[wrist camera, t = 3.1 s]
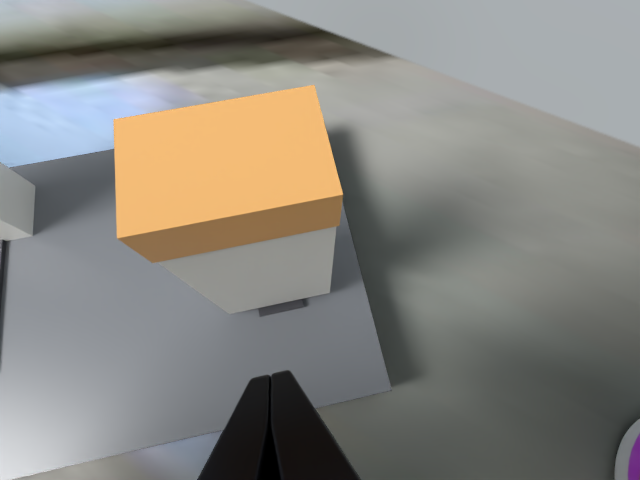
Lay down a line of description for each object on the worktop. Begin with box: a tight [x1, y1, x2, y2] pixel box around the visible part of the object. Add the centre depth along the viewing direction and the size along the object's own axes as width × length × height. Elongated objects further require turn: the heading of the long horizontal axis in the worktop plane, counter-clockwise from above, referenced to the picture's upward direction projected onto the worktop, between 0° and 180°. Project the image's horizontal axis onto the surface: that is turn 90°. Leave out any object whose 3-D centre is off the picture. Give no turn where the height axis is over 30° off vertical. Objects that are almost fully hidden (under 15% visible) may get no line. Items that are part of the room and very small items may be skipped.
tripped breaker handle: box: [114, 85, 343, 314], centre depth 11 cm, size 3×4×8 cm, turn 102°
